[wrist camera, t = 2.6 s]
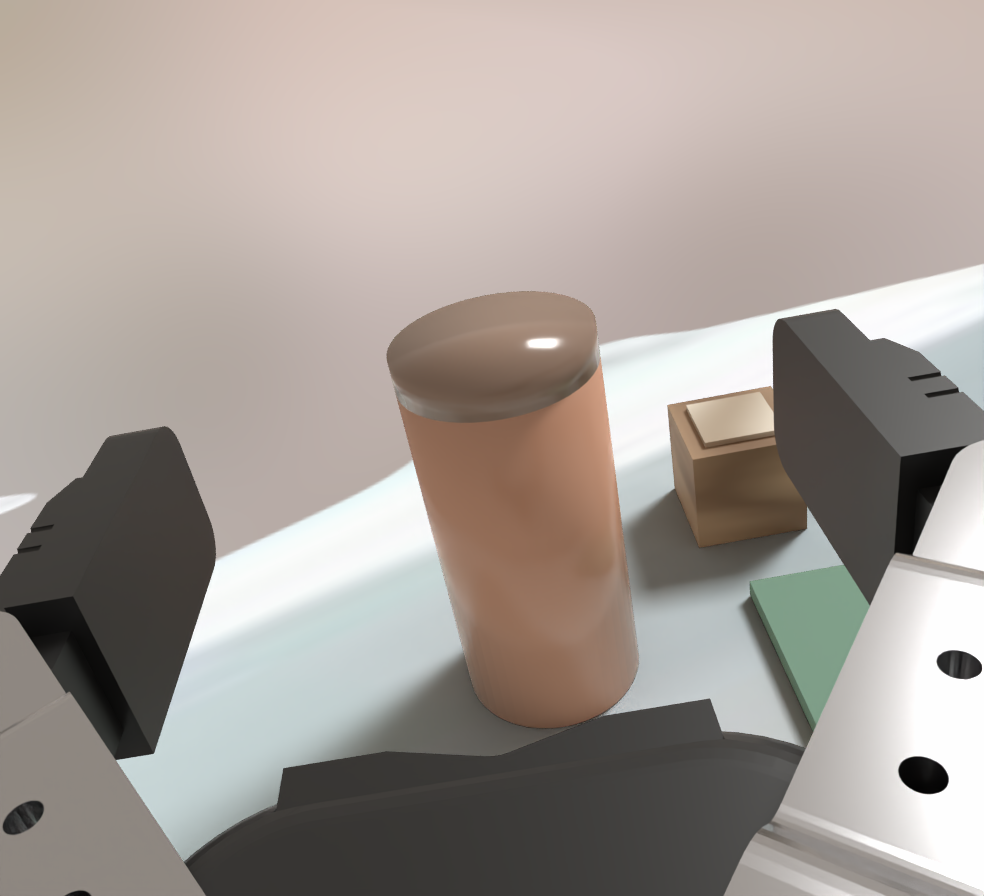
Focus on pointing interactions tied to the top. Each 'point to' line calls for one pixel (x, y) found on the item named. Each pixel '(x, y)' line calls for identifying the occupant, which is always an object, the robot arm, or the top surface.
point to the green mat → (811, 628)
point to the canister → (522, 500)
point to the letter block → (732, 469)
